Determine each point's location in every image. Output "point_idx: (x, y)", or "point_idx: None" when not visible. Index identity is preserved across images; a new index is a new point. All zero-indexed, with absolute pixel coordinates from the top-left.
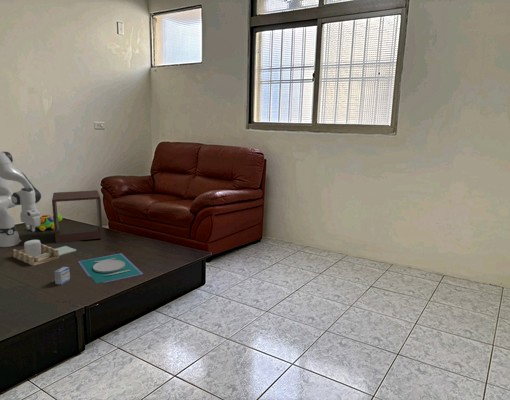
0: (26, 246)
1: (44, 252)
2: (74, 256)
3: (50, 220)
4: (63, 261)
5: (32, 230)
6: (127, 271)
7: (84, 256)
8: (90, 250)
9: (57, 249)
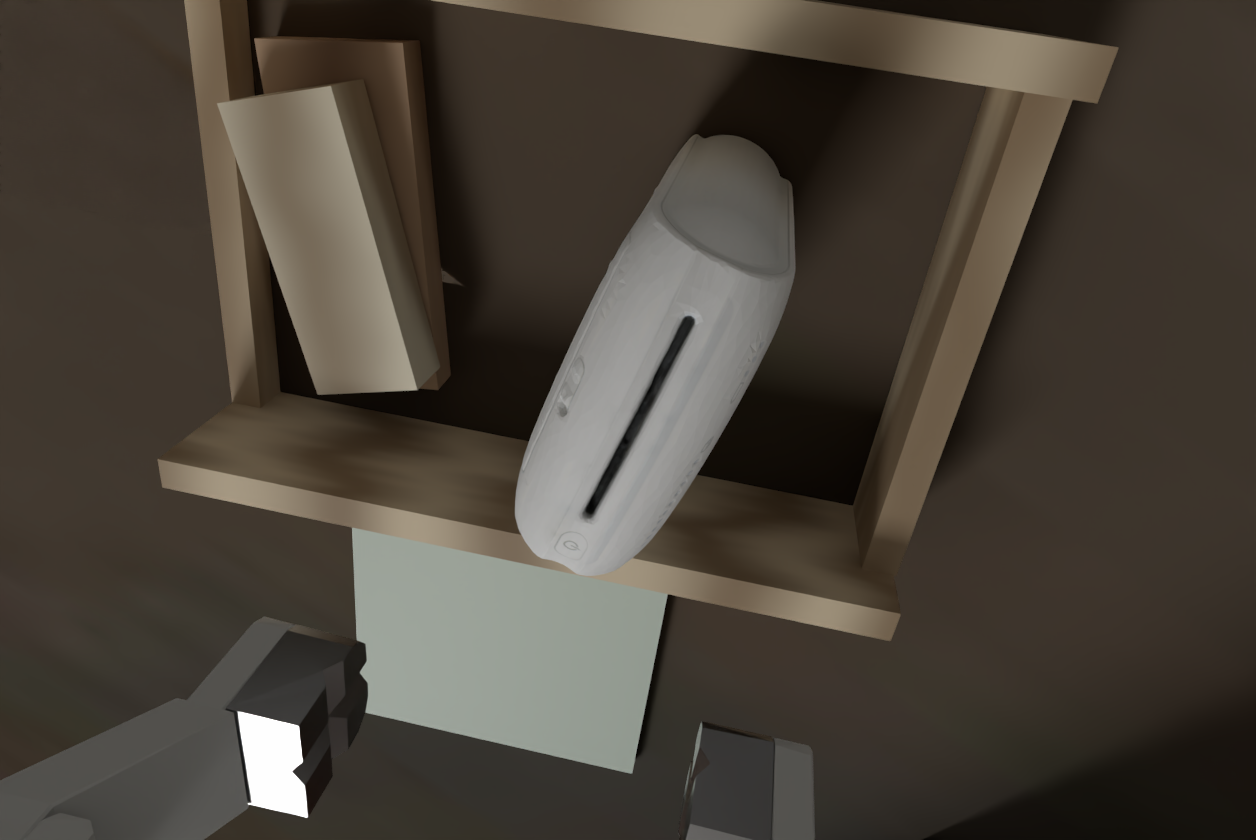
0: (641, 214)
1: None
2: (169, 544)
3: None
4: (73, 344)
5: (240, 645)
6: None
7: (79, 588)
8: None
9: (594, 639)
